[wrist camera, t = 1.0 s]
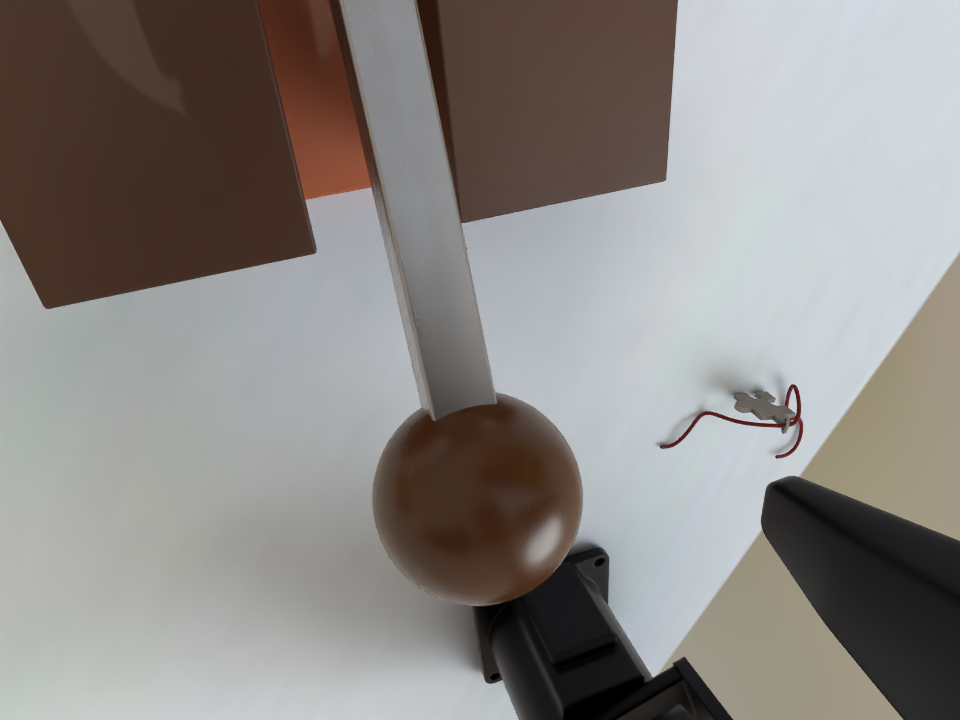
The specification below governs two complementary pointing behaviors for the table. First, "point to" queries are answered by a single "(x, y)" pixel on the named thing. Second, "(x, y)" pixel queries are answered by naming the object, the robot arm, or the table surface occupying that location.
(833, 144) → the table surface
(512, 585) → the lever
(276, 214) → the brown block
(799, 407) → the pendant
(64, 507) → the table surface
